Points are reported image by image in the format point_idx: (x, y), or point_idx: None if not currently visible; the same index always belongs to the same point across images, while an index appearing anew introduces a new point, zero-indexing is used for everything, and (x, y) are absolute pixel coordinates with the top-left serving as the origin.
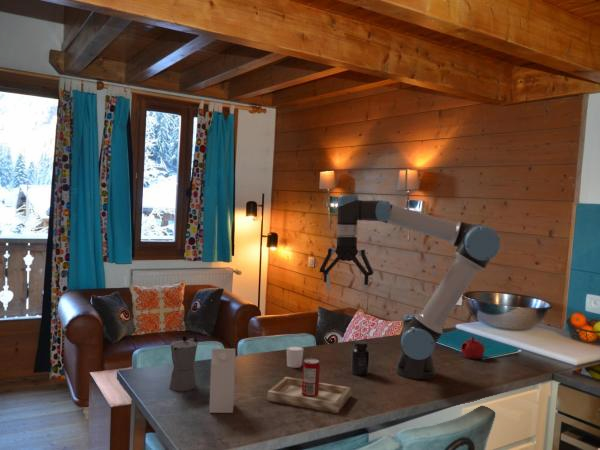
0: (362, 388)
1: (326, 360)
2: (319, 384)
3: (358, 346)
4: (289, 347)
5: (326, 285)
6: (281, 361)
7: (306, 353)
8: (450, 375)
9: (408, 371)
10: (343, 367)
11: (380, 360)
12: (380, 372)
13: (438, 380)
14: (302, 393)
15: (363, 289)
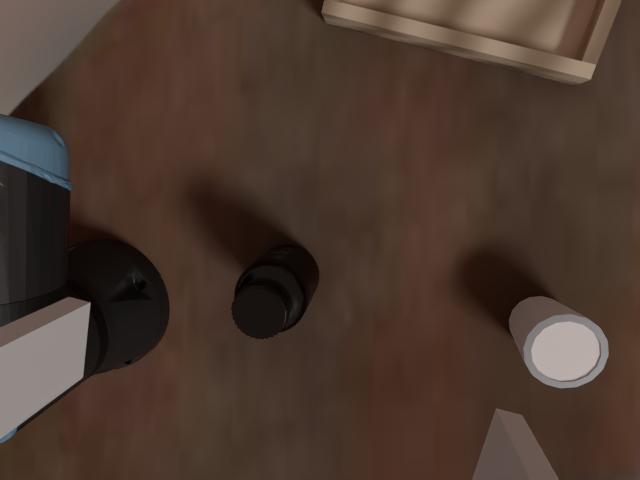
0: (283, 115)
1: (408, 396)
2: (443, 28)
3: (272, 284)
4: (592, 362)
5: (554, 473)
6: None
7: None
8: None
9: (121, 254)
10: (346, 326)
11: (216, 418)
12: (220, 292)
13: None
14: None
15: (33, 318)
